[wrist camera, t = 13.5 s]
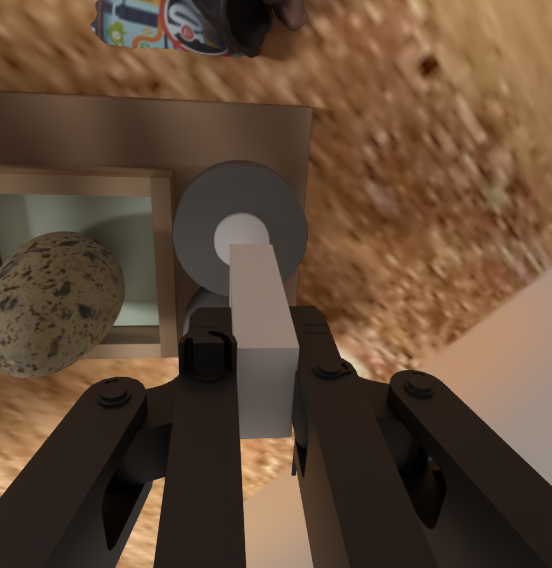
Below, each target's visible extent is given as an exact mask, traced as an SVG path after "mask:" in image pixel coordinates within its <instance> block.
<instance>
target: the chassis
mask: <svg viewBox="0 0 552 568" xmlns="http://www.w3.org/2000/svg"><path fill="white" fill-rule="evenodd" d="M312 110H313V108H311V107H309V106H294V105H274V104H254V103H234V102H214V101H194V100H173V99H153V98H133V97H113V96H93V95H73V94H53V93H32V92H12V91H0V267H1V266H2V264H3V263H4V261H5V260H6V259H7V258H8V257H9V256H10V255H11V254H12V253H13V252H14V251H15V250H16V249H17V248H19V247H20V246H21V245H23V244H24V243H26V242H27V241H29V240H31V239H33V238H35V237H37V236H40V235H43V234H47V233H51V232H59V231H69V232H76V233H81V234H84V235H87V236H90V237H92V238H94V239H96V240H98V241H99V242H101V243H102V244H103V245H105V246H106V247H107V248H108V249H109V250H110V251H111V252H112V253H113V255H114V256H115V257H116V259H117V261H118V262H119V265H120V267H121V269H122V272H123V276H124V282H125V294H124V301H123V305H122V308H121V311H120V313H119V315H118V318H117V320H116V322H115V323H114V325H113V326H112V328H111V329H110V331H109V332H108V333H107V335H106V336H105V337H104V338H103V339H102V341H101V342H100V343H99V344H98V345H97V346H96V347H94V348H93V349H92V350H91V351H90V352H89V353H87V354H86V355H85V356H83V357H82V358H81V359H108V358H167V357H178V342H179V340H180V338H181V337H182V336H183V335H185V334H186V333H188V328H189V320H190V316H191V314H192V313H193V312H194V311H195V310H196V309H197V308H198V307H229V296H224V295H220V294H217V293H214V292H212V291H210V290H207V289H206V288H204V287H202V286H201V285H199V284H198V283H197V282H196V281H194V280H193V279H192V278H191V277H190V276H189V275H188V273H187V272H186V271H185V270H184V268H183V267H182V265H181V263H180V261H179V259H178V257H177V254H176V251H175V247H174V241H173V227H174V221H175V217H176V213H177V210H178V206H179V203H180V200H181V197H182V195H183V193H184V191H185V189H186V188H187V186H188V185H189V183H190V182H191V181H192V180H193V179H194V178H195V177H196V176H197V175H198V174H200V173H201V172H202V171H204V170H205V169H207V168H208V167H211V166H213V165H215V164H218V163H221V162H224V161H230V160H247V161H253V162H257V163H260V164H262V165H265V166H267V167H269V168H271V169H272V170H274V171H275V172H277V173H278V174H279V175H280V176H281V177H282V178H284V179H285V180H286V182H287V183H288V184H289V186H290V187H291V189H292V190H293V192H294V194H295V196H296V197H297V199H298V201H299V203H300V205H301V207H302V209H303V211H304V205H305V194H306V182H307V170H308V158H309V146H310V134H311V122H312ZM299 265H300V264H299ZM298 277H299V266H298V267H297V269H296V270H295V271H294V273H293V274H292V275H291V276H290V277H289V278H288V279H287V280H286V281H285V282H283V283H282V284H283V288H284V291H285V295H286V299H287V303H288V306H296V301H297V289H298Z"/></svg>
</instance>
